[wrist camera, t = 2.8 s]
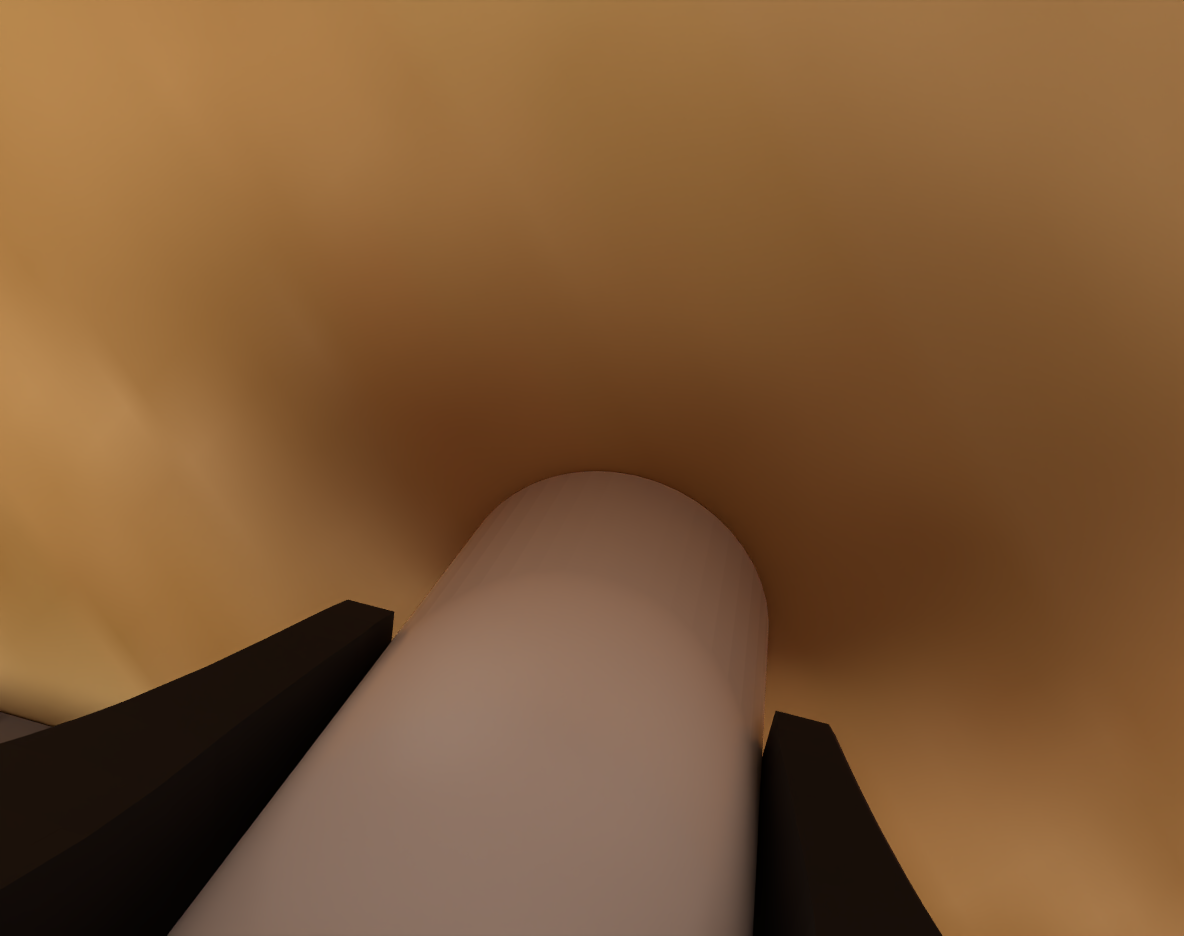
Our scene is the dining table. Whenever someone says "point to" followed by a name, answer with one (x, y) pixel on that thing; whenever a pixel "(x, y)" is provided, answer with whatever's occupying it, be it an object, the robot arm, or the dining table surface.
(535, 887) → the salt shaker
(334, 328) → the dining table surface
